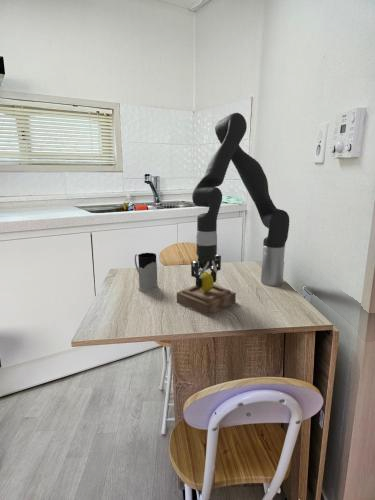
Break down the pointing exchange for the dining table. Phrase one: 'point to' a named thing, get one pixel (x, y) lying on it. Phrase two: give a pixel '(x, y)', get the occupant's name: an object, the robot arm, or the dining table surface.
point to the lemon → (207, 282)
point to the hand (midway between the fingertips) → (206, 284)
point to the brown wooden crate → (206, 299)
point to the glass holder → (147, 272)
